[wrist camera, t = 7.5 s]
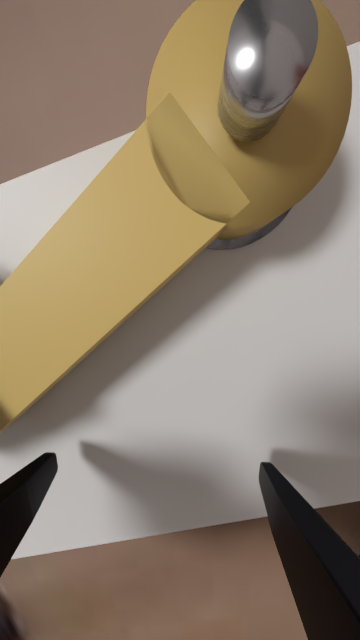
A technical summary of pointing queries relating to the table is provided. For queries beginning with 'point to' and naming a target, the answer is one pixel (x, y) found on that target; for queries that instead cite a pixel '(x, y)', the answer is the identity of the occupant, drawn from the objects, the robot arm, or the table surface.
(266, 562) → the table surface
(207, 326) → the base plate
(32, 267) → the link
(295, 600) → the robot arm
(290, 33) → the pintle
